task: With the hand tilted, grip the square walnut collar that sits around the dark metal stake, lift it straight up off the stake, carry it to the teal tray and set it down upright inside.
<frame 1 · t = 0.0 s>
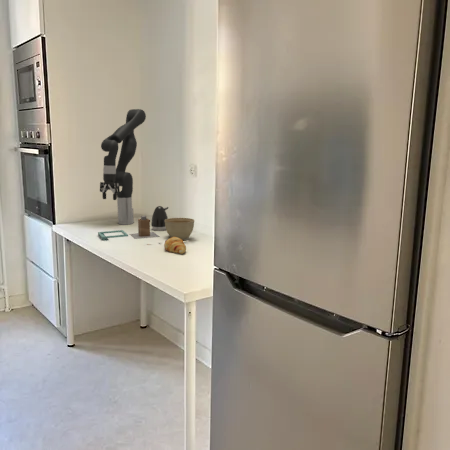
hand: (109, 199, 275), 17 cm above the table, tool pointing down, fingers open, 8 cm apart
collar: (144, 235, 249), point 1 cm above the table, touching stake
tray: (112, 236, 250), on the table
stake: (144, 237, 249), on the table
croissant: (174, 251, 221), on the table
black electric kettle: (160, 231, 266), on the table
planter bowl: (179, 239, 244), on the table
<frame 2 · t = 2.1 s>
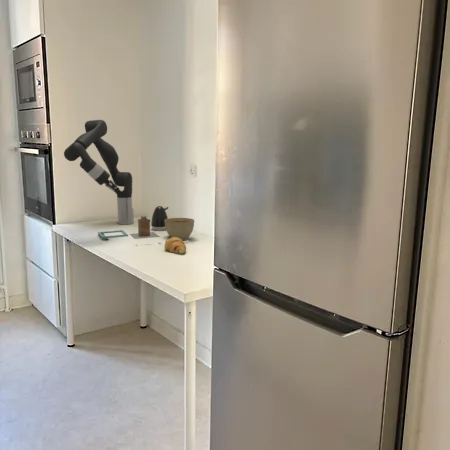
hand: (121, 195, 240), 24 cm above the table, tool tilted 45°, fingers open, 8 cm apart
nothing on the table moved.
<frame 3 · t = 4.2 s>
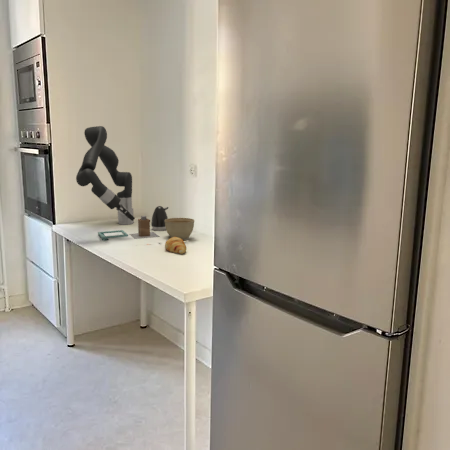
hand: (131, 218, 244), 11 cm above the table, tool tilted 45°, fingers open, 8 cm apart
nothing on the table moved.
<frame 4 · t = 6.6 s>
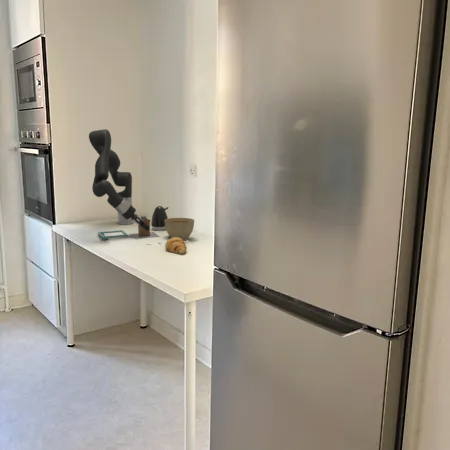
hand: (147, 228, 249), 5 cm above the table, tool tilted 45°, fingers closed on collar, 5 cm apart
collar: (144, 235, 249), point 1 cm above the table, touching gripper, stake
everything else where it was.
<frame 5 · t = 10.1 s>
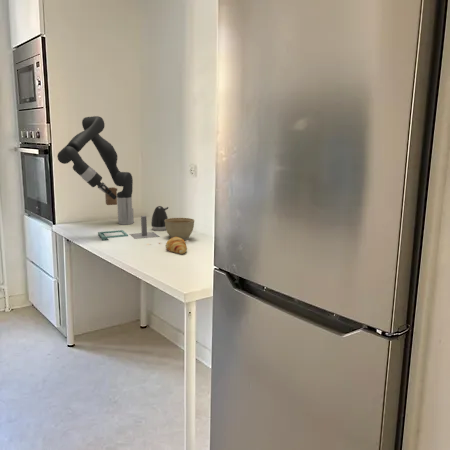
hand: (114, 197, 247), 22 cm above the table, tool tilted 45°, fingers closed on collar, 5 cm apart
collar: (111, 204, 247), point 18 cm above the table, touching gripper
everything else where it was.
when the fingers open (6 cm above the table, at t = 13.6 s): collar drops 1 cm, resting on tray.
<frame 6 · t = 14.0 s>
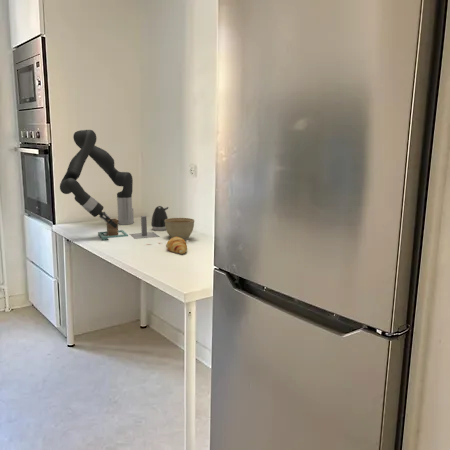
hand: (114, 225, 250), 6 cm above the table, tool tilted 45°, fingers open, 8 cm apart
collar: (112, 235, 250), point 1 cm above the table, touching tray
everything else where it was.
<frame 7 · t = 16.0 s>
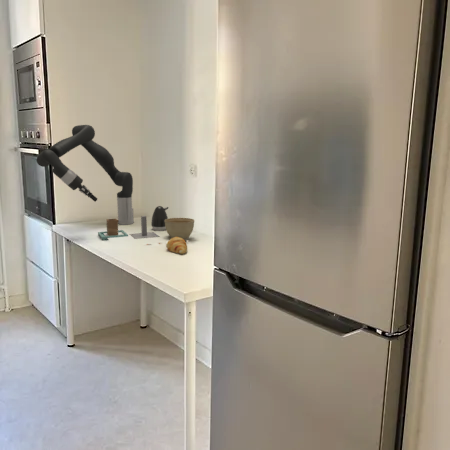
hand: (95, 199, 244), 22 cm above the table, tool tilted 45°, fingers open, 8 cm apart
nothing on the table moved.
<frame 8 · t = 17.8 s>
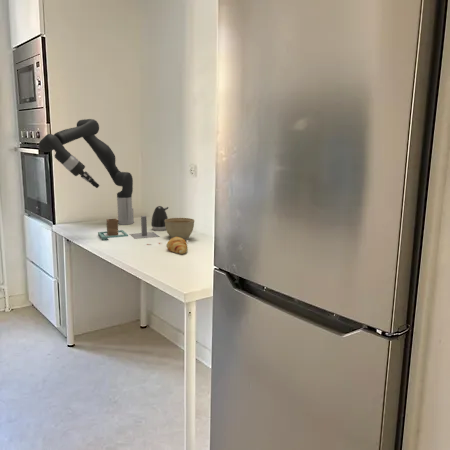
hand: (97, 186, 243), 29 cm above the table, tool tilted 45°, fingers open, 8 cm apart
at the end: collar inside the target area on the tray (0.1 cm from its centre), point 0.8 cm above the tray's base; collar tilted 0°; the gripper is holding nothing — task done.
